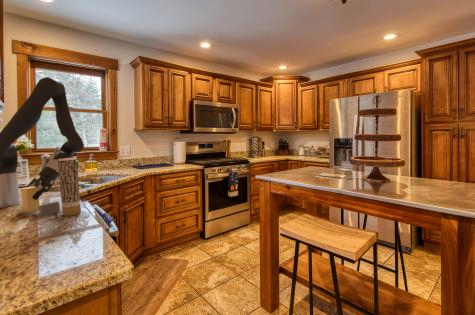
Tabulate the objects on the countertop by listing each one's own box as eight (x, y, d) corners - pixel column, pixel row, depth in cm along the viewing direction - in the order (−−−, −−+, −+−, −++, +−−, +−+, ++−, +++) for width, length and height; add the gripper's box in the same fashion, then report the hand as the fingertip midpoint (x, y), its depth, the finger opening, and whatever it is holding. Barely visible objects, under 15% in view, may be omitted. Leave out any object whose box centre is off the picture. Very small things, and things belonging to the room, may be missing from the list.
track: (19, 213, 113) (17, 203, 113) (36, 209, 120) (35, 199, 120) (42, 217, 106) (41, 206, 106) (60, 212, 113) (58, 202, 112)
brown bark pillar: (64, 213, 112) (59, 158, 110) (82, 210, 115) (77, 157, 112) (61, 217, 106) (55, 159, 103) (79, 214, 108) (74, 158, 106)
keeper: (23, 211, 114) (20, 188, 113) (34, 208, 118) (32, 186, 118) (28, 212, 113) (26, 189, 112) (40, 209, 117) (37, 186, 116)
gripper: (37, 165, 124) (12, 193, 114) (55, 166, 118) (30, 195, 109) (50, 174, 129) (27, 201, 120) (67, 175, 124) (44, 203, 114)
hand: (28, 198), depth 114 cm, fingers open, 8 cm apart
